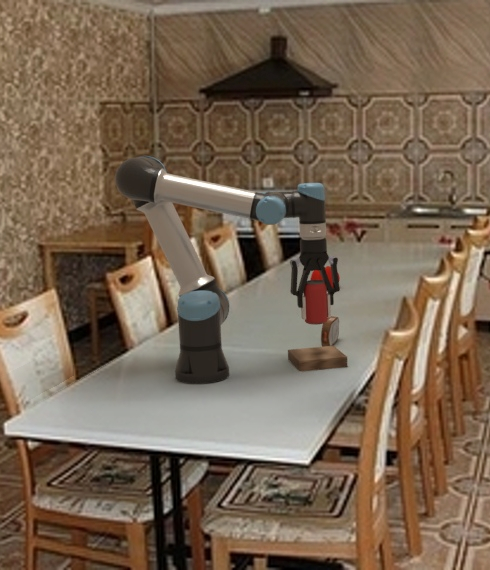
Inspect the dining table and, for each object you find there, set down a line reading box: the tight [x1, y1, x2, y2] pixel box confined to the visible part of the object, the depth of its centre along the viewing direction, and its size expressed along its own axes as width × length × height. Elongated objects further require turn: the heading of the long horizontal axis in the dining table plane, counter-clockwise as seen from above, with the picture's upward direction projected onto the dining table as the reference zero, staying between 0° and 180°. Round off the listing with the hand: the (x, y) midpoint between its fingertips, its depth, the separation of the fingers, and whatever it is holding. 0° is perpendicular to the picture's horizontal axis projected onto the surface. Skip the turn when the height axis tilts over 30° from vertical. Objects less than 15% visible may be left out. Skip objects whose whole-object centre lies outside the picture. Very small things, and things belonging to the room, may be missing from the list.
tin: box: [320, 315, 340, 347], centre depth 298 cm, size 15×3×8 cm, turn 162°
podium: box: [287, 345, 348, 372], centre depth 276 cm, size 14×14×3 cm
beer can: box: [303, 279, 328, 326], centre depth 273 cm, size 7×7×12 cm
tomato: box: [310, 266, 341, 288], centre depth 393 cm, size 11×12×9 cm
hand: (316, 317), depth 274 cm, fingers closed on beer can, 7 cm apart
